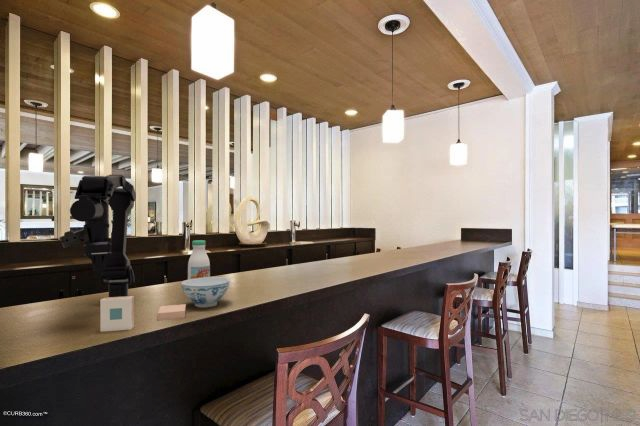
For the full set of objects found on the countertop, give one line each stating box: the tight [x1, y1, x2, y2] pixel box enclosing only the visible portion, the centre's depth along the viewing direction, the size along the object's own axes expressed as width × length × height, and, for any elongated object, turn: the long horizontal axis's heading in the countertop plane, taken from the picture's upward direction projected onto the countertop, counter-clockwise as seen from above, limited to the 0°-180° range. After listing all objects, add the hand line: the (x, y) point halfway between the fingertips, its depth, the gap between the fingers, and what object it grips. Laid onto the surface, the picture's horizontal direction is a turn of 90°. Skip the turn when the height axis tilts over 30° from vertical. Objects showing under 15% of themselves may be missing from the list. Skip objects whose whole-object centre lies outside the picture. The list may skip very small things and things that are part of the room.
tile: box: [99, 295, 135, 333], centre depth 88 cm, size 2×7×8 cm, turn 103°
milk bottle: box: [187, 239, 211, 280], centre depth 126 cm, size 8×8×20 cm
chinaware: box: [180, 276, 231, 308], centre depth 111 cm, size 15×15×8 cm
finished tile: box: [157, 303, 187, 321], centre depth 100 cm, size 8×7×2 cm
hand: (97, 275), depth 97 cm, fingers open, 9 cm apart
